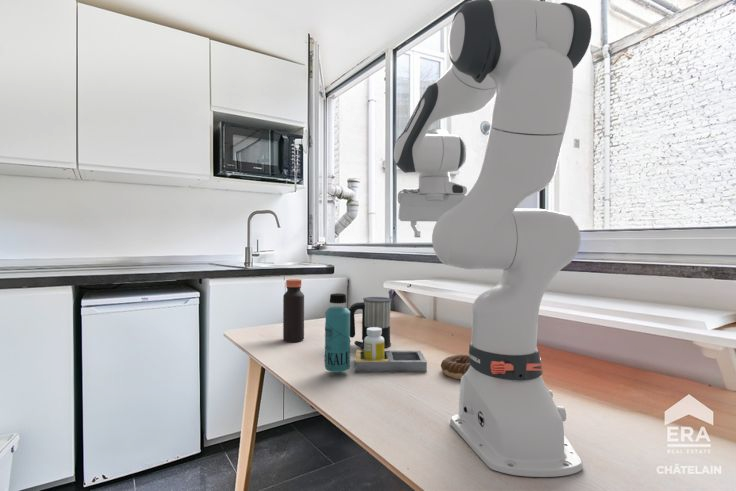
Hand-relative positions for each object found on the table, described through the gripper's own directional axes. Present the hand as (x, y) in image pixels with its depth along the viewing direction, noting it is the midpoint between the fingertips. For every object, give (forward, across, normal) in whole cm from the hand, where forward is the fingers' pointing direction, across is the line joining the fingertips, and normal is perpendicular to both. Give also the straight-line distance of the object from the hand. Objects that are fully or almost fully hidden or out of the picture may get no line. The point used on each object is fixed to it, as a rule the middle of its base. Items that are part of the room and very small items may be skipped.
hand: (433, 237), depth 108 cm
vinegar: (+34, -43, +18) cm, 58 cm away
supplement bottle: (+34, -17, -8) cm, 39 cm away
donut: (+34, +5, -14) cm, 38 cm away
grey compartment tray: (+34, -13, -8) cm, 37 cm away
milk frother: (+34, -17, +8) cm, 39 cm away
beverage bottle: (+34, -26, -14) cm, 45 cm away
